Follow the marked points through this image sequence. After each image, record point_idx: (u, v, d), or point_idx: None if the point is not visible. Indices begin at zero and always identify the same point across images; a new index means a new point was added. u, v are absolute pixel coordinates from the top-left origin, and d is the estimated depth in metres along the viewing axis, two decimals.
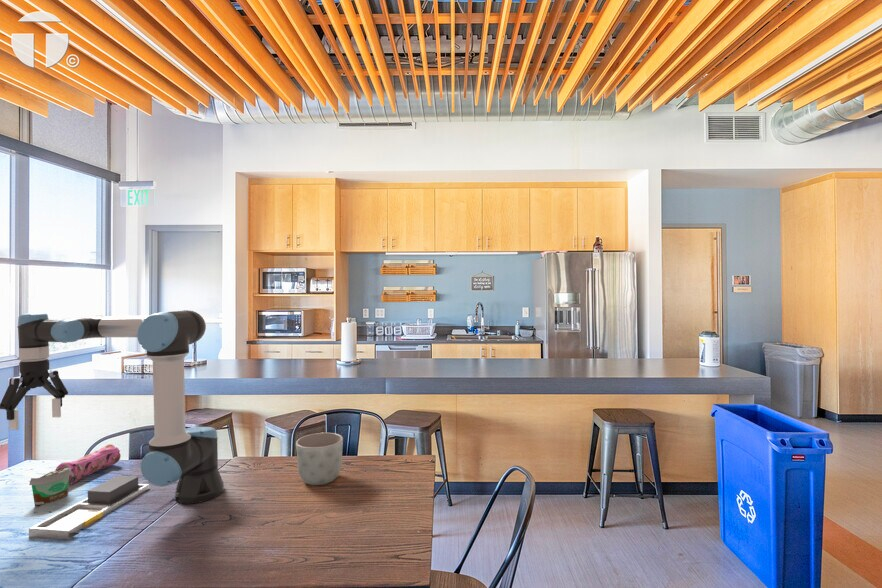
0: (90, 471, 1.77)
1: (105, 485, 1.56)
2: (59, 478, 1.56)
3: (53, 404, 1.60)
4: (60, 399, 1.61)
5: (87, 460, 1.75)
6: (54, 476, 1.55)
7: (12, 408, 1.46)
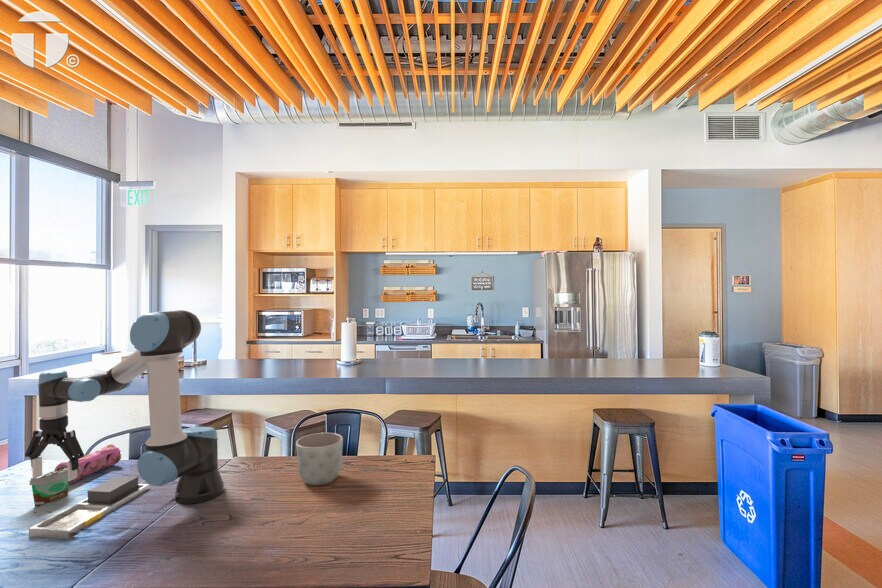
0: (89, 471, 1.77)
1: (105, 485, 1.56)
2: (59, 478, 1.56)
3: None
4: (72, 462, 1.56)
5: (86, 460, 1.75)
6: (54, 476, 1.55)
7: (30, 457, 1.57)
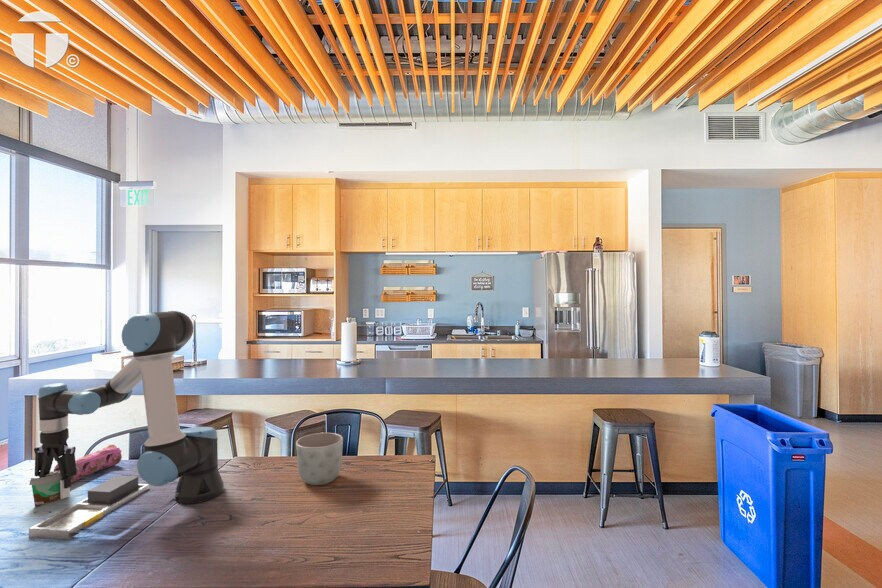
0: (89, 471, 1.77)
1: (105, 485, 1.56)
2: (59, 478, 1.56)
3: None
4: (65, 480, 1.56)
5: (85, 460, 1.75)
6: (54, 476, 1.55)
7: None
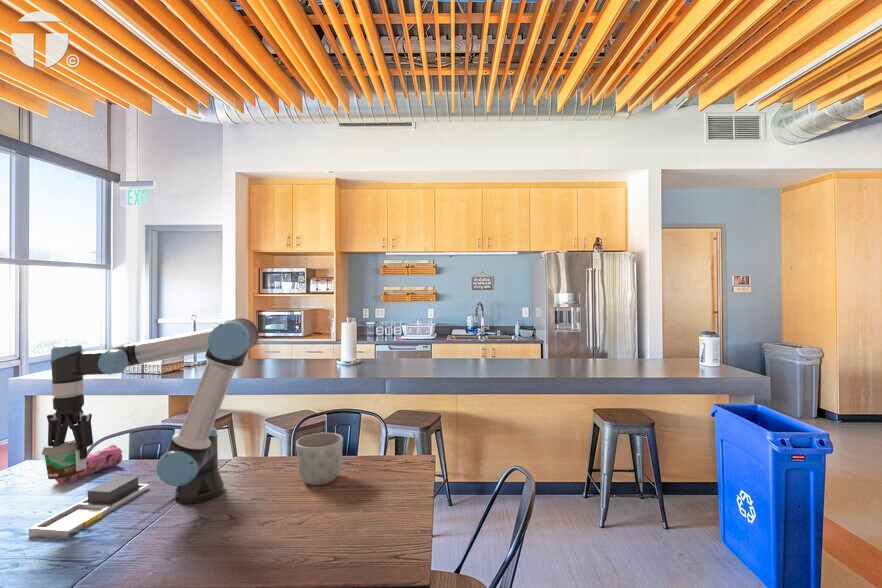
0: (88, 471, 1.76)
1: (105, 485, 1.56)
2: (74, 448, 1.41)
3: None
4: (81, 451, 1.42)
5: None
6: (69, 445, 1.40)
7: None
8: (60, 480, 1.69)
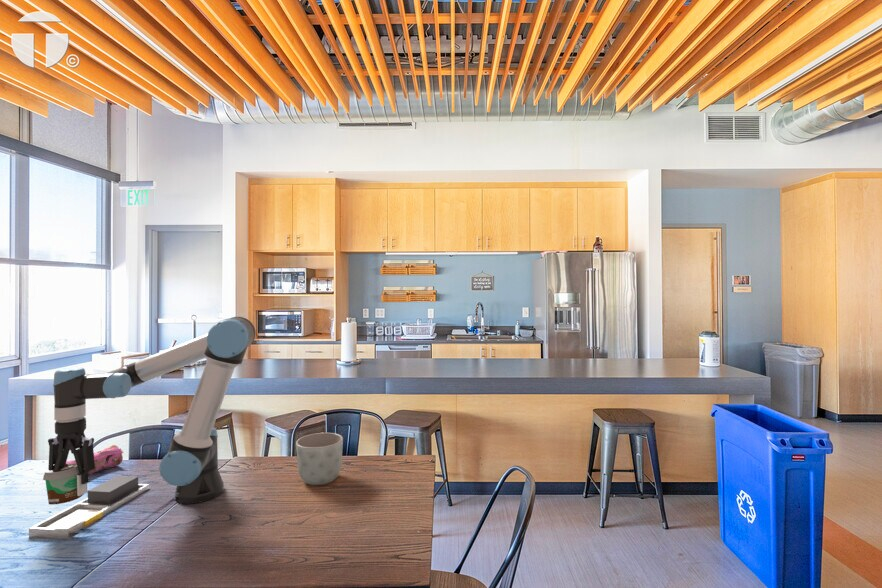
0: None
1: (105, 485, 1.56)
2: (76, 473, 1.40)
3: None
4: (82, 475, 1.40)
5: None
6: (70, 470, 1.39)
7: (54, 471, 1.41)
8: None
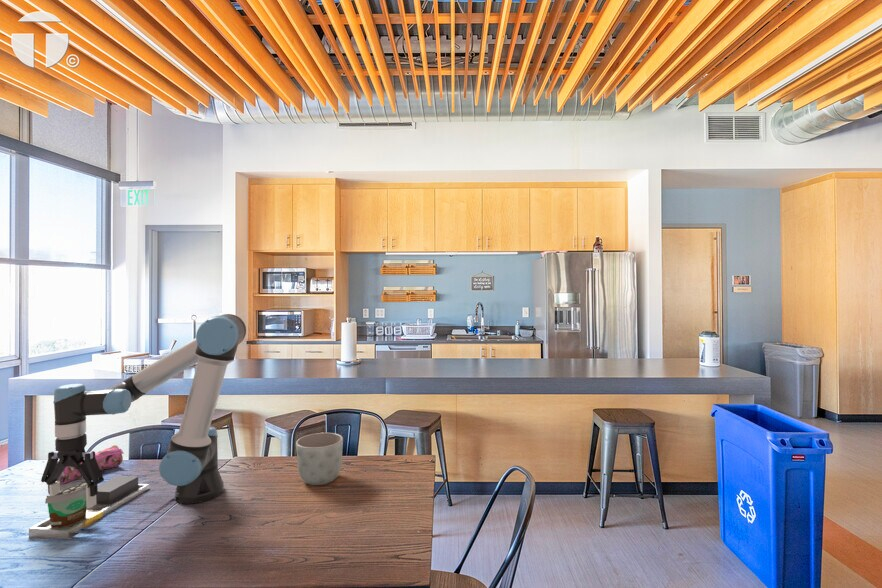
0: None
1: (105, 485, 1.56)
2: (78, 495, 1.40)
3: None
4: (91, 488, 1.40)
5: None
6: (72, 493, 1.39)
7: (47, 483, 1.42)
8: None
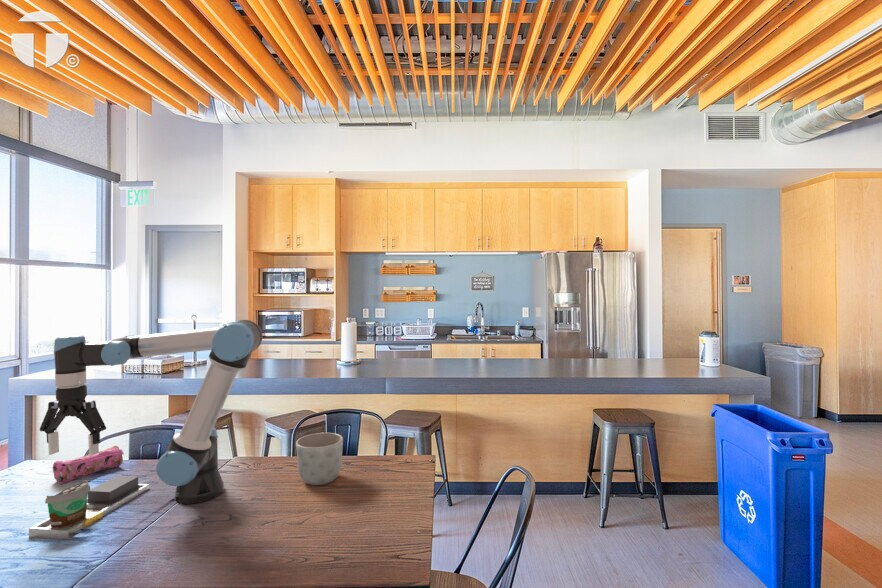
0: (85, 472, 1.76)
1: (105, 485, 1.56)
2: (78, 495, 1.40)
3: None
4: (94, 435, 1.42)
5: (81, 461, 1.75)
6: (72, 493, 1.39)
7: (45, 431, 1.43)
8: (56, 479, 1.70)
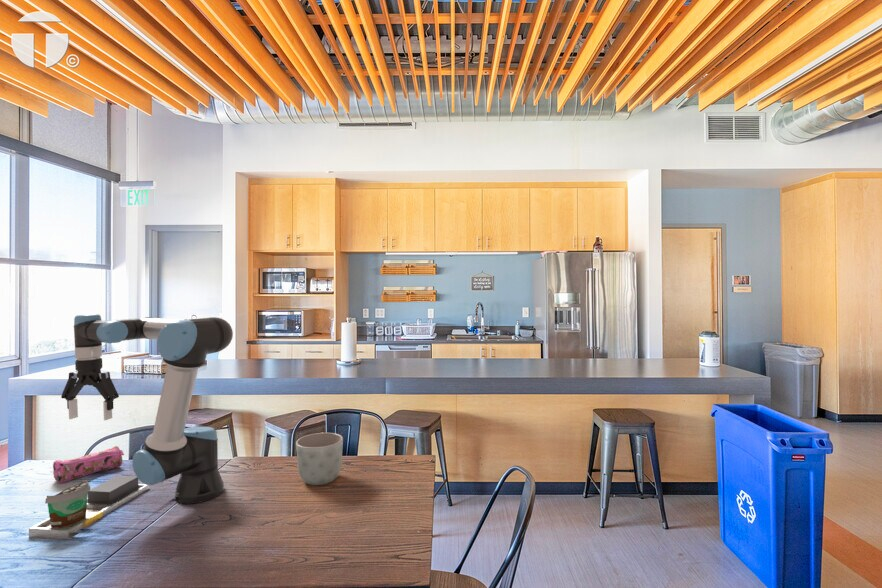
0: (84, 472, 1.76)
1: (105, 485, 1.56)
2: (78, 495, 1.40)
3: None
4: (108, 402, 1.60)
5: (79, 461, 1.75)
6: (72, 493, 1.39)
7: (66, 399, 1.61)
8: (55, 478, 1.71)
